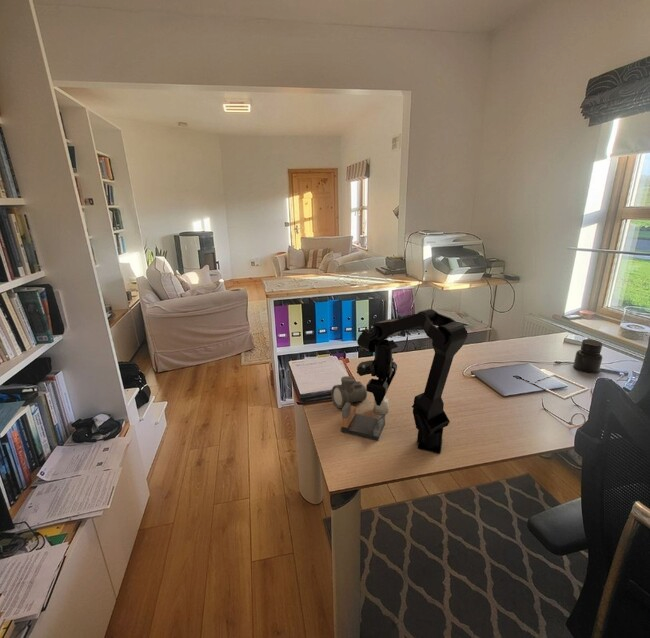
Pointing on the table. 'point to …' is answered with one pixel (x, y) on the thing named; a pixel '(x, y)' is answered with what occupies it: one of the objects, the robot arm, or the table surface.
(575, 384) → the photo frame
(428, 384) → the robot arm
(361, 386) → the pipe fitting
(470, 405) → the table surface
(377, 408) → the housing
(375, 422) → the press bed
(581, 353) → the ink bottle
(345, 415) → the tan and grey slab
